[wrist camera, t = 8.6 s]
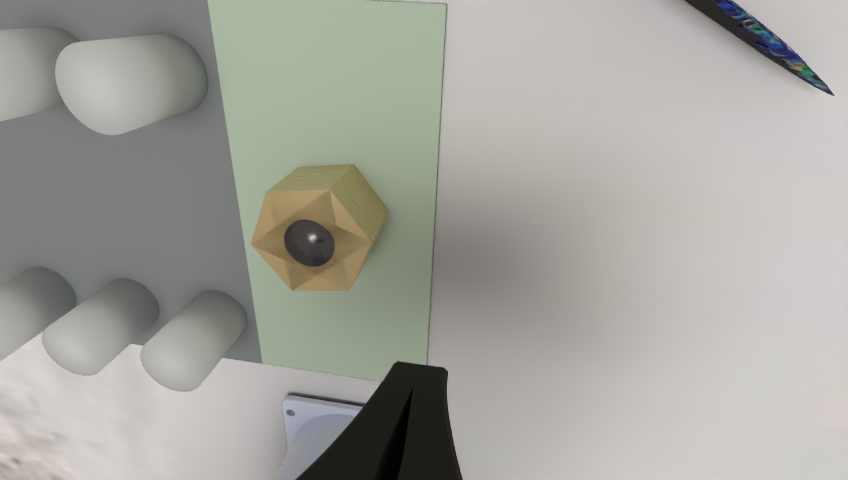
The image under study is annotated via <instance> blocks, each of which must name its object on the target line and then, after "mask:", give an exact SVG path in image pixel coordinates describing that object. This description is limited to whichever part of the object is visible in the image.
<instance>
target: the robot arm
mask: <svg viewBox="0 0 848 480" xmlns="http://www.w3.org/2000/svg"><path fill="white" fill-rule="evenodd" d="M447 378H448V371H447V370H446V369H445V368H442V367H435V366H428V365H422V364H415V363H408V362H401V361H397V362H395V363H394V364H393V365H392V367H391V369H390V370H389V372H388V374H387V375H386V377H385V378H384V380H383V381H382V383H381V384H380V385H379V387H378V388H377V390H376V391H375V392H374V394H373V395H372V396H371V398H370V399H369V400H368V402H367V403H366V404H365V405H364V407H361V406H355V405H349V404H343V403H336V402H330V401H324V400H318V399H311V398H305V397H299V396H293V395H288V396H286V397H285V398H284V400H283V401H282V410H283V417H284V425H285V432H286V439H287V447H288V451H287V453H286V455H285V457H284V459H283V461H282V463H281V465H280V467H279V469H278V471H277V473H276V475H275V477H274V479H273V480H463V479H462V476H461V472H460V468H459V464H458V460H457V456H456V452H455V447H454V442H453V437H452V431H451V426H450V420H449V413H448V403H447ZM292 410H293V411H292Z"/></svg>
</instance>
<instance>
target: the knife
mask: <svg viewBox="0 0 848 480" xmlns="http://www.w3.org/2000/svg"><path fill="white" fill-rule="evenodd" d="M685 1H687V2H688V3H690V4H691V5H693V6H694V7H695V8H697V9H698V10H700V11H701V12H703V13H704V14H706V15H707V16H709V17H710V18H711V19H713V20H714V21H716V22H717V23H719V24H720V25H721V26H723V27H724V28H726V29H727V30H729V31H730V32H732V33H733V34H734V35H736V36H737V37H739V38H740V39H742V40H743V41H745V42H746V43H747V44H749V45H750V46H752V47H753V48H755V49H756V50H757V51H759V52H760V53H762V54H763V55H765V56H766V57H768V58H769V59H771V60H773V61H774V62H776V63H777V64H779V65H780V66H782V67H784V68H785V69H787V70H788V71H790V72H792V73H793V74H795V75H796V76H798V77H799V78H801V79H803V80H804V81H806V82H807V83H809V84H811V85H813V86H814V87H816V88H818V89H820V90H822V91H824V92H826V93H828V94H830V95H833V96H834V94H833V93H832V92H831V90H830V89H829V88H828V86H827V85H826V84H825V83H824V82H823V81H822V80H821V79H820V78H819V77H818V76H817V75H816V74H815V73H814V72H813V71H812V70H811V69H810V68H809V67H808V66H807V64H806V63H805V62H804V61H803V60H802V59H801V58H800V56H799V55H798V54H796V53H795V52H794V51H793V50H792V49H791V48H790V47H789V46H788V45H787V44H786V43H784V42H783V41H782V40H781V39H780V38H779V37H777V36H776V35H775V34H774V33H772V32H771V31H770V30H769V29H768V28H766V27H765V26H764V25H763V24H761V23H760V22H759V21H758V20H757V19H755V18H754V17H753V16H751V15H750V14H749V13H748V12H746V11H745V10H744V9H742V8H741V7H740V6H738V5H737V4H736V3H735V2H733V1H732V0H685Z"/></svg>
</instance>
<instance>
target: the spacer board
mask: <svg viewBox="0 0 848 480" xmlns="http://www.w3.org/2000/svg"><path fill="white" fill-rule="evenodd" d="M446 10H447V4H435V3H414V2H393V1H372V0H0V360H2V359H4V358H6V357H7V356H8V355H10V354H11V353H13V352H14V351H16V350H17V349H18V348H20V347H21V346H23V345H24V344H25V343H27V342H28V341H30V340H31V339H32V338H34V337H35V336H37V335H38V334H40V333H41V332H42V331H43V333H42V342H43V345H44V348H45V350H46V351H47V353H48V354H49V356H50V357H51V358H52V359H53V360H54V361H55V362H56V363H57V364H59V365H60V366H61V367H63V368H64V369H66V370H68V371H70V372H72V373H75V374H78V375H84V376H90V375H95V374H97V373H98V372H99V371H101V370H102V369H103V368H104V367H105V366H106V365H107V364H108V363H109V362H111V361H112V360H113V359H114V358H115V357H116V356H117V355H118V354H119V353H120V352H122V351H123V350H124V349H125V348H126V347H127V346H128V345H129V344H130V343H131V344H137V345H144V346H143V347H142V349H141V353H140V358H141V362H142V365H143V367H144V369H145V370H146V372H147V373H148V374H149V375H150V376H151V377H152V378H153V379H154V380H155V381H157V382H158V383H159V384H161V385H163V386H165V387H167V388H169V389H172V390H175V391H181V392H187V391H192V390H195V389H196V388H198V387H199V386H200V385H201V383H202V382H203V381H204V380H205V379H206V377H207V376H208V375H209V374H210V372H211V371H212V370H213V369H214V367H215V366H216V365H217V364H218V362H219V361H220V360H221V359H222V358H229V359H235V360H242V361H249V362H255V363H262V364H268V365H275V366H281V367H288V368H294V369H301V370H308V371H314V372H321V373H327V374H334V375H340V376H347V377H353V378H360V379H367V380H373V381H380V382H382V381H383V380H384V378H385V377H386V375H387V374H388V372H389V370H390V369H391V367H392V365H393V364H394V363H395V362H397V361H401V362H408V363H415V364H422V365H427V350H428V332H429V314H430V296H431V279H432V261H433V243H434V225H435V207H436V189H437V171H438V153H439V135H440V117H441V99H442V81H443V63H444V45H445V28H446ZM342 164H354V165H355V166H356V167H357V169H358V170H359V171H360V173H361V174H362V175H363V177H364V178H365V179H366V180H367V182H368V183H369V184H370V186H371V187H372V188H373V190H374V191H375V192H376V193H377V195H378V196H379V197H380V199H381V200H382V201H383V203H384V204H385V205H386V207H387V208H388V209H389V210H390V211H389V214H388V216H387V218H386V220H385V222H384V225H383V227H382V229H381V231H380V233H379V236H378V238H377V240H376V242H375V245H374V247H373V249H372V251H371V253H370V256H369V257H368V259H367V261H366V263H365V265H364V266H363V268H362V270H361V272H360V274H359V275H358V277H357V279H356V281H355V283H354V284H353V286H352V288H351V290H350V291H292V290H291V289H290V288H289V287H288V286H287V285H286V284H285V282H284V281H283V280H282V279H281V278H280V277H279V276H278V275H277V273H276V272H275V271H274V270H273V269H272V268H271V267H270V266H269V265H268V263H267V262H266V261H265V260H264V259H263V258H262V257H261V256H260V254H259V253H258V252H257V251H256V250H255V249H254V248H253V247H252V246H251V241H252V238H253V234H254V231H255V227H256V224H257V221H258V217H259V214H260V210H261V207H262V203H263V200H264V197H265V193H266V191H268V190H269V189H270V188H272V187H273V186H274V185H275V184H277V183H278V182H279V181H280V180H282V179H283V178H284V177H286V176H287V175H288V174H289V173H291V172H292V171H293V170H295V169H296V168H297V167H303V166H322V165H342Z"/></svg>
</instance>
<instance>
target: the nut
mask: <svg viewBox="0 0 848 480" xmlns="http://www.w3.org/2000/svg"><path fill="white" fill-rule="evenodd" d="M389 211H390V210H389V209H388V208H387V207H386V205H385V204H384V203H383V201H382V200H381V199H380V197H379V196H378V195H377V193H376V192H375V191H374V190H373V188H372V187H371V186H370V184H369V183H368V182H367V180H366V179H365V178H364V177H363V175H362V174H361V173H360V171H359V170H358V169H357V167H356V166H355V165H354V164H342V165H322V166H303V167H297V168H296V169H295V170H293V171H292V172H291V173H289V174H288V175H287V176H286V177H284V178H283V179H282V180H280V181H279V182H278V183H277V184H275V185H274V186H273V187H272V188H270V189H269V190H268V191H266V193H265V197H264V200H263V203H262V207H261V210H260V214H259V217H258V221H257V224H256V227H255V231H254V234H253V238H252V241H251V246H252V247H253V248H254V249H255V250H256V251H257V252H258V253H259V254H260V256H261V257H262V258H263V259H264V260H265V261H266V262H267V263H268V265H269V266H270V267H271V268H272V269H273V270H274V271H275V272H276V273H277V275H278V276H279V277H280V278H281V279H282V280H283V281H284V282H285V284H286V285H287V286H288V287H289V288H290V289H291V290H292V291H350V290H351V288H352V286H353V284H354V283H355V281H356V279H357V277H358V275H359V274H360V272H361V270H362V268H363V266H364V265H365V263H366V261H367V259H368V257H369V256H370V253H371V251H372V249H373V247H374V245H375V242H376V240H377V238H378V236H379V233H380V231H381V229H382V227H383V225H384V222H385V220H386V218H387V216H388V214H389Z"/></svg>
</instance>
